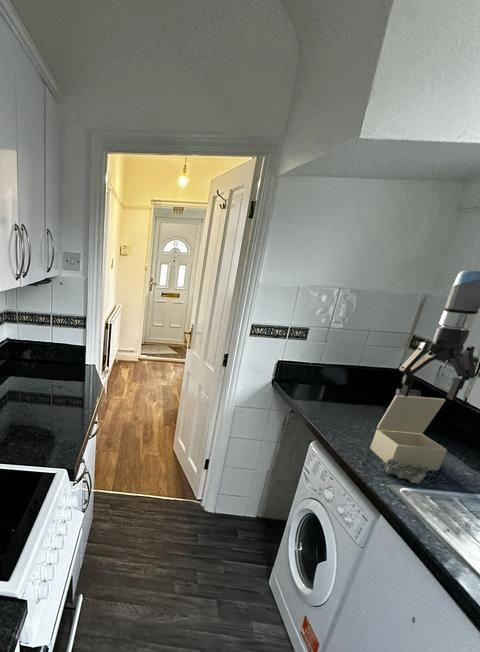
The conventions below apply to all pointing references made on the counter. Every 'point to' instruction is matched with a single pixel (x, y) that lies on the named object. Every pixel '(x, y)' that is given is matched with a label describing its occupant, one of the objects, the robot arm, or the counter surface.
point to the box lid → (410, 412)
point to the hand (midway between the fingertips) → (427, 397)
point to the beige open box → (408, 448)
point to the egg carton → (406, 470)
